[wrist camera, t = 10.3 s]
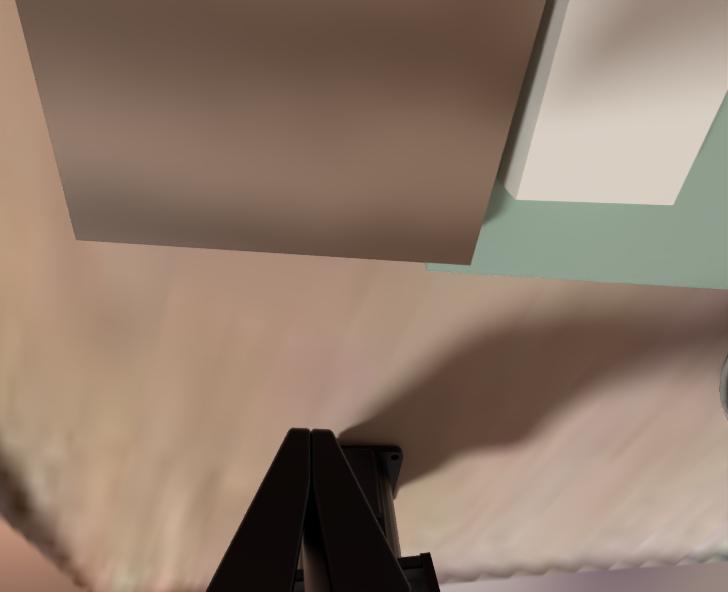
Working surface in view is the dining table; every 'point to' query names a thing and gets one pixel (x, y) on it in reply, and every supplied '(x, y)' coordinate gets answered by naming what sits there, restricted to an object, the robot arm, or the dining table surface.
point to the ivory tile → (616, 100)
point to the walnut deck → (281, 120)
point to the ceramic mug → (724, 388)
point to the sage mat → (615, 232)
